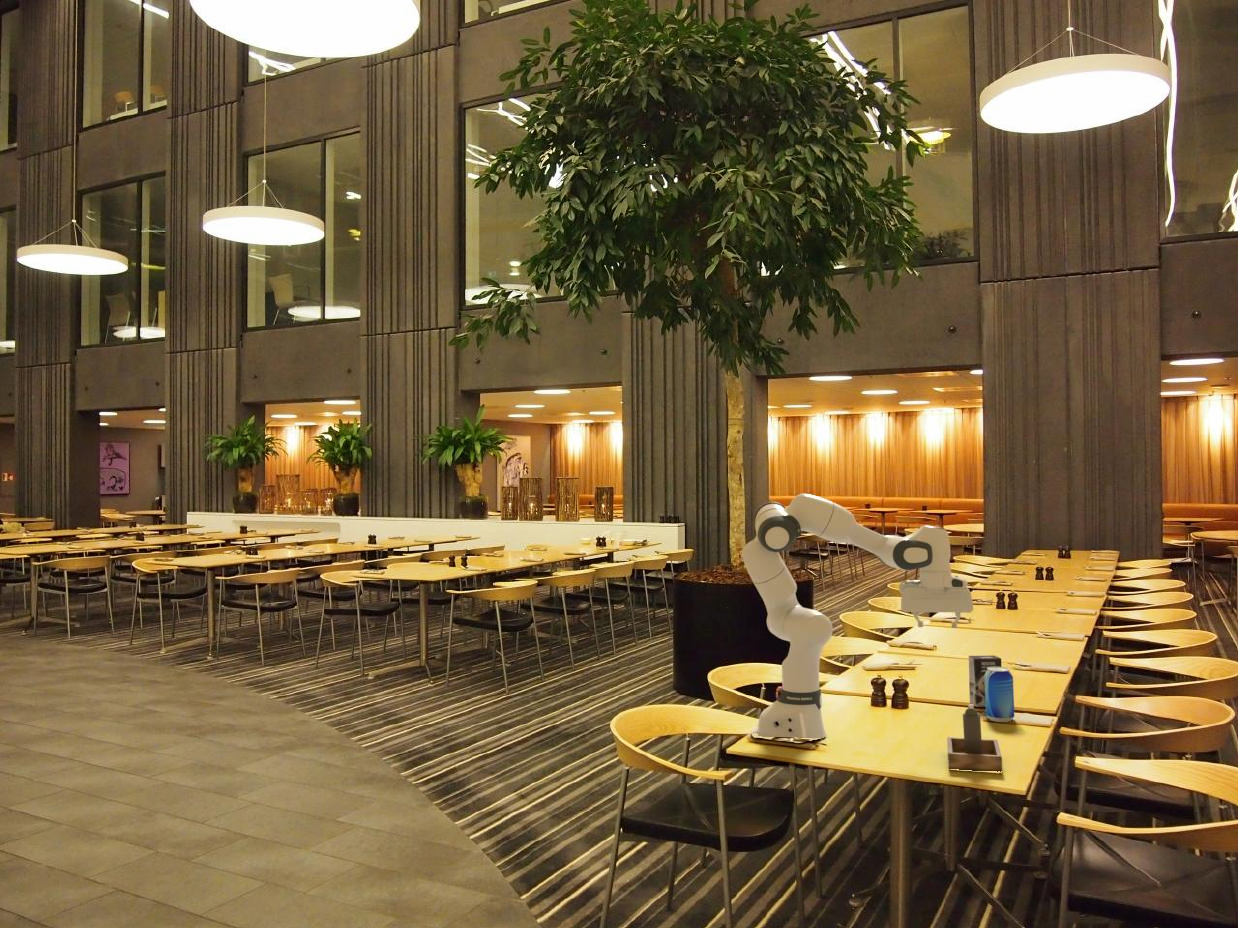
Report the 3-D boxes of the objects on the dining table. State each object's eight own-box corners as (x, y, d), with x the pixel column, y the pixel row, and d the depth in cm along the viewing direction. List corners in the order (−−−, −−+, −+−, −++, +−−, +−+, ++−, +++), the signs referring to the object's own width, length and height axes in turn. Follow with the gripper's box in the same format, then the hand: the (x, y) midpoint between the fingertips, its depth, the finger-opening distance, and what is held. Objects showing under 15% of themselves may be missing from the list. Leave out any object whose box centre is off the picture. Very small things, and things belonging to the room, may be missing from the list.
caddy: (949, 770, 244) (948, 753, 244) (947, 753, 259) (947, 736, 259) (1002, 773, 239) (1001, 756, 239) (997, 756, 255) (997, 739, 255)
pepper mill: (965, 761, 248) (962, 706, 248) (965, 756, 252) (962, 702, 252) (982, 762, 246) (979, 707, 246) (982, 757, 250) (979, 702, 251)
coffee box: (976, 707, 308) (974, 658, 309) (969, 702, 315) (967, 655, 315) (1003, 706, 308) (1001, 658, 308) (996, 701, 314) (994, 654, 315)
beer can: (1007, 715, 297) (1005, 665, 297) (1019, 722, 288) (1017, 670, 289) (981, 716, 296) (979, 666, 297) (992, 723, 288) (991, 671, 288)
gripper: (898, 581, 273) (900, 628, 272) (972, 581, 266) (974, 629, 266) (899, 579, 279) (900, 624, 278) (971, 579, 272) (973, 626, 272)
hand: (937, 627), depth 272 cm, fingers open, 8 cm apart
